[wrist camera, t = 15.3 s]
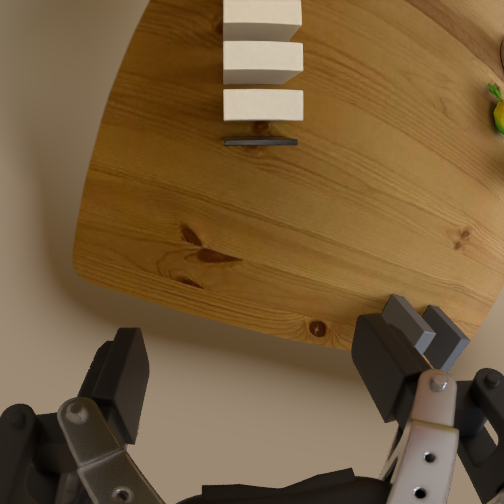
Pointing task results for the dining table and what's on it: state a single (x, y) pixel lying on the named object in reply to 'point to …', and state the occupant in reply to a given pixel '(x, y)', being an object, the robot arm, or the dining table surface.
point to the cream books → (261, 50)
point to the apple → (498, 109)
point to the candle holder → (502, 53)
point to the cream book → (262, 105)
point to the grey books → (427, 332)
